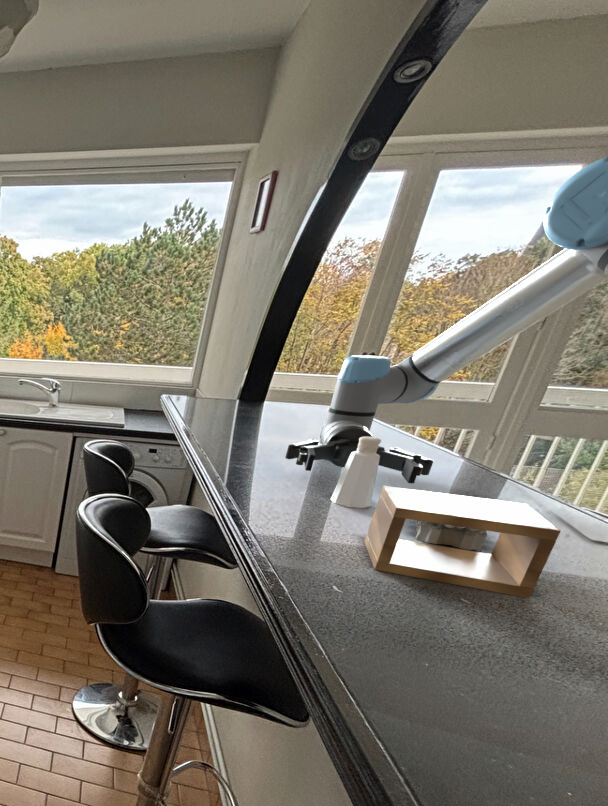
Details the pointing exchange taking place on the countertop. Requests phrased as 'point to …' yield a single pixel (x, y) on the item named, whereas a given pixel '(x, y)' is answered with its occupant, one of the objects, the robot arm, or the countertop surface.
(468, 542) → the grey bumpy bar
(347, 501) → the pepper shaker
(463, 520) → the frame
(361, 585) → the countertop surface
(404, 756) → the countertop surface
